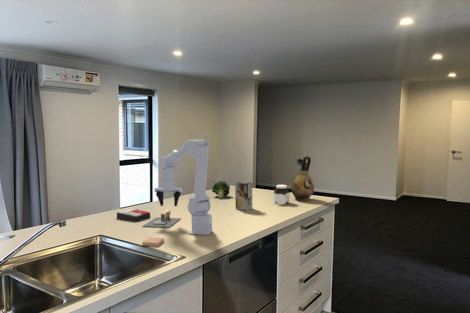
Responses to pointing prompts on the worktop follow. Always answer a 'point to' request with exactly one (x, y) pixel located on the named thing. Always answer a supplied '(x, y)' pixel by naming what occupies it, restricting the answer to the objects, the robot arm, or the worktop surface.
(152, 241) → the tile
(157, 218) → the mat
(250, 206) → the coffee box
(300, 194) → the ceramic jug
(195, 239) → the worktop surface
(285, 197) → the spread jar
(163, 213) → the beige long bar
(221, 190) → the vegetable
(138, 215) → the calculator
